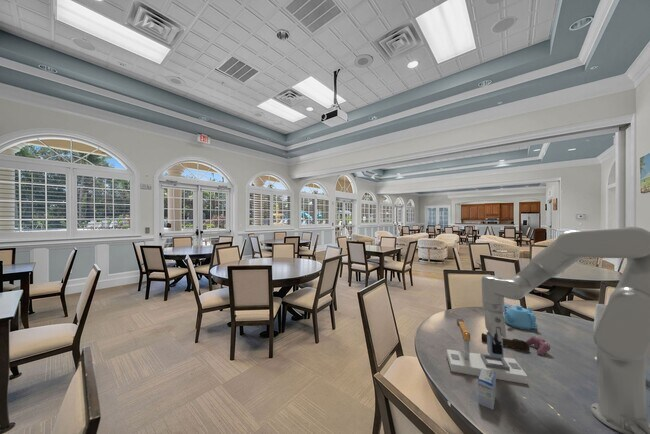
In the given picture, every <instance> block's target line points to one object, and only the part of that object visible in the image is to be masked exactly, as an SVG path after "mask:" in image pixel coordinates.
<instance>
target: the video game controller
mask: <svg viewBox="0 0 650 434" xmlns="http://www.w3.org/2000/svg"><path fill="white" fill-rule="evenodd" d="M525 342H526V343H527V344H528V346H529V347H530V346H532V345H533V347H534V348H535V349H537V350H536V354H537V355H539V356H541V355H545V354H546V353H548V352H549V351H550V350H551V345H550V344H549V343H548V342H547V340H545V338H542V337H540V336H537V335H532V336H531V337H530V338H528V339H526V340H525Z"/></svg>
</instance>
